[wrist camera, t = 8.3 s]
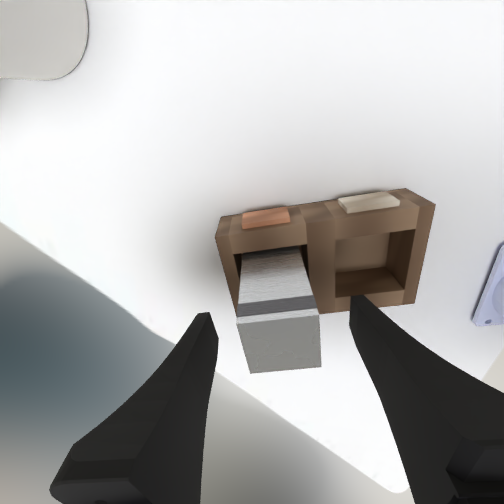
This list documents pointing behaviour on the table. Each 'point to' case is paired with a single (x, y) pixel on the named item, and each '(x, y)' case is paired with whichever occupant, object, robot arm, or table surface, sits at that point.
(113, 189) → the table surface
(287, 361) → the plug
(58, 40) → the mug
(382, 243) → the port block
